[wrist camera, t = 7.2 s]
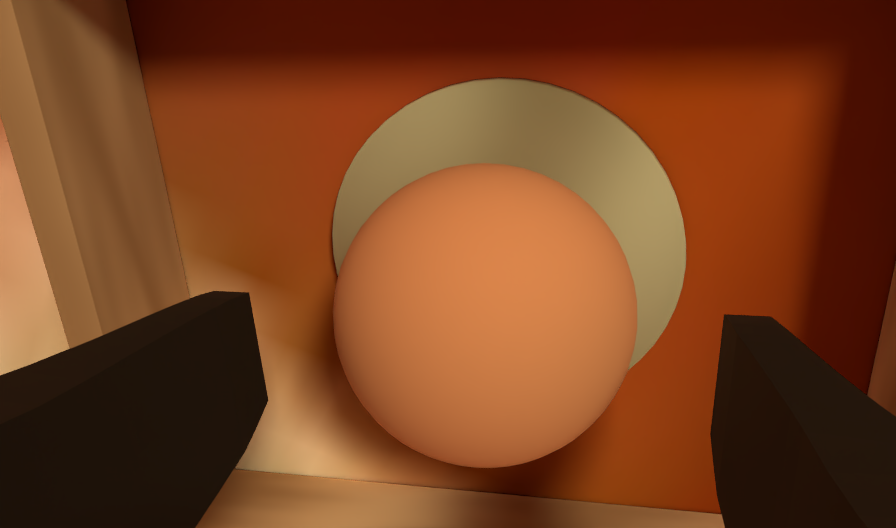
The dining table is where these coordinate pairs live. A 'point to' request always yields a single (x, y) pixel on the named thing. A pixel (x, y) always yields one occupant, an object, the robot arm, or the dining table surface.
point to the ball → (485, 315)
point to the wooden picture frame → (362, 191)
